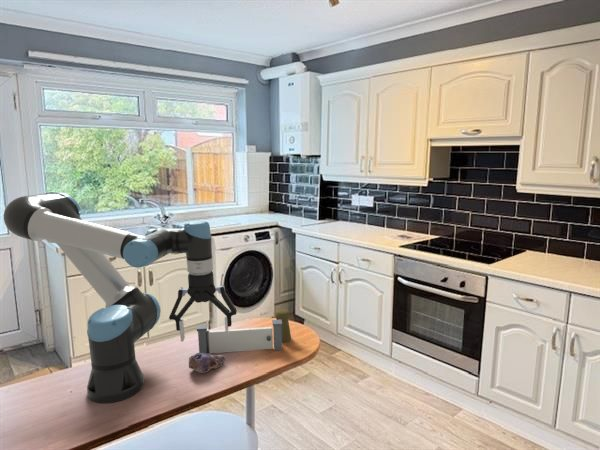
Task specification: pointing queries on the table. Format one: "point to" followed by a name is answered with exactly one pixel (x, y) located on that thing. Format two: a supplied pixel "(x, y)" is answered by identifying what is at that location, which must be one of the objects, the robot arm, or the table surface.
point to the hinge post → (202, 338)
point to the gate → (239, 340)
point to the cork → (284, 324)
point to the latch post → (277, 334)
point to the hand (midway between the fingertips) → (205, 338)
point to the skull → (205, 362)
